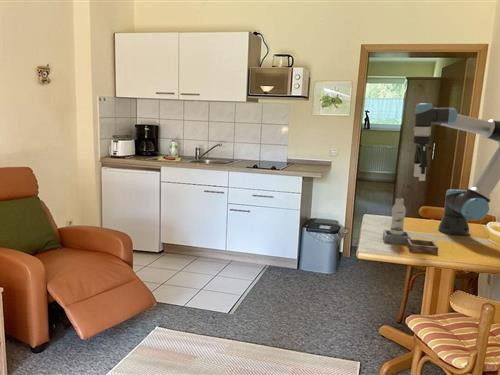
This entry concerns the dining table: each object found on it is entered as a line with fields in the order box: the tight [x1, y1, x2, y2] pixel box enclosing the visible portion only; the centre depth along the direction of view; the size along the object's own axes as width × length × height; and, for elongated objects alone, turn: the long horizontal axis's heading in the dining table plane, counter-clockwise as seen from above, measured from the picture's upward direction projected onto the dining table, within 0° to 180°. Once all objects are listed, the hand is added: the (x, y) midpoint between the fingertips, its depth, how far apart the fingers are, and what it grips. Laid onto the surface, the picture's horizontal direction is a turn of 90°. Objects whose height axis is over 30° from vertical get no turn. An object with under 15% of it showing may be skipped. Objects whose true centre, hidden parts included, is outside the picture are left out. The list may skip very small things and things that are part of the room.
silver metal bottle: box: [389, 197, 407, 236], centre depth 217 cm, size 6×7×20 cm
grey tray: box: [382, 229, 412, 245], centre depth 219 cm, size 12×11×4 cm
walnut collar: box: [405, 238, 439, 255], centre depth 206 cm, size 12×11×3 cm
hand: (419, 178), depth 222 cm, fingers open, 13 cm apart
